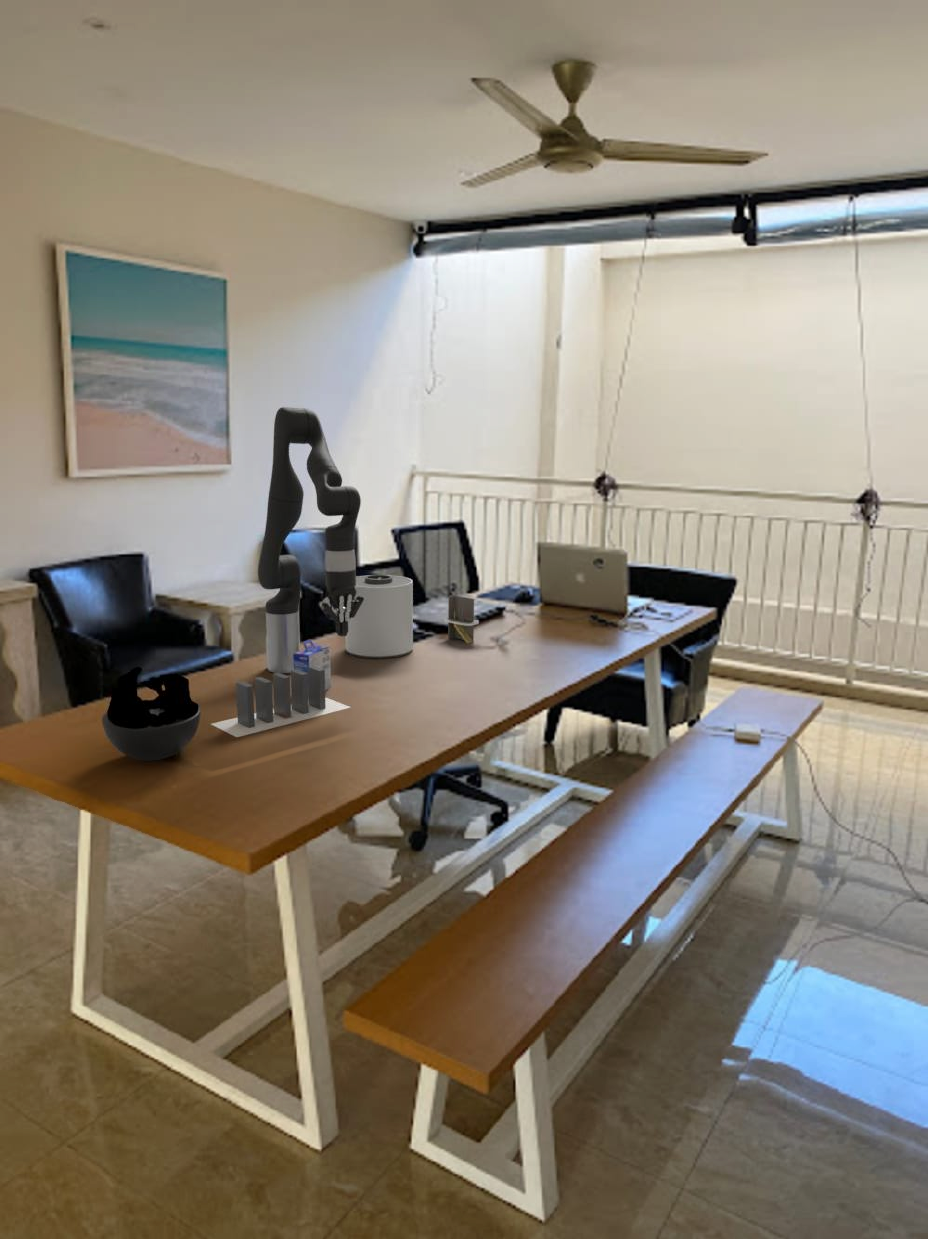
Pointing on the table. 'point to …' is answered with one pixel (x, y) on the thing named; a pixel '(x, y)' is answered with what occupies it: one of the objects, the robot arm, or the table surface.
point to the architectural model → (461, 618)
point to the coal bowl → (151, 717)
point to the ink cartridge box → (314, 660)
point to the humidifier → (382, 618)
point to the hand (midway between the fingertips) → (342, 635)
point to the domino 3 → (282, 695)
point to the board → (277, 719)
